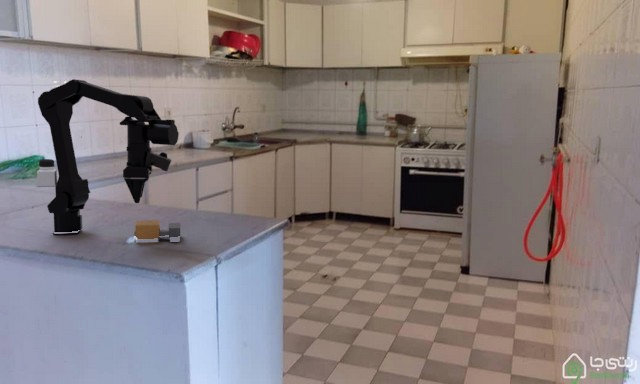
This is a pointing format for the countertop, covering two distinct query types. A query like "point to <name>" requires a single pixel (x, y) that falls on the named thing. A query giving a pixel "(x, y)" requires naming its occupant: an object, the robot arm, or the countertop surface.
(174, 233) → the hammer
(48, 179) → the medicine bottle
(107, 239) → the countertop surface
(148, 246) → the countertop surface
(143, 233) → the wooden u-channel block
